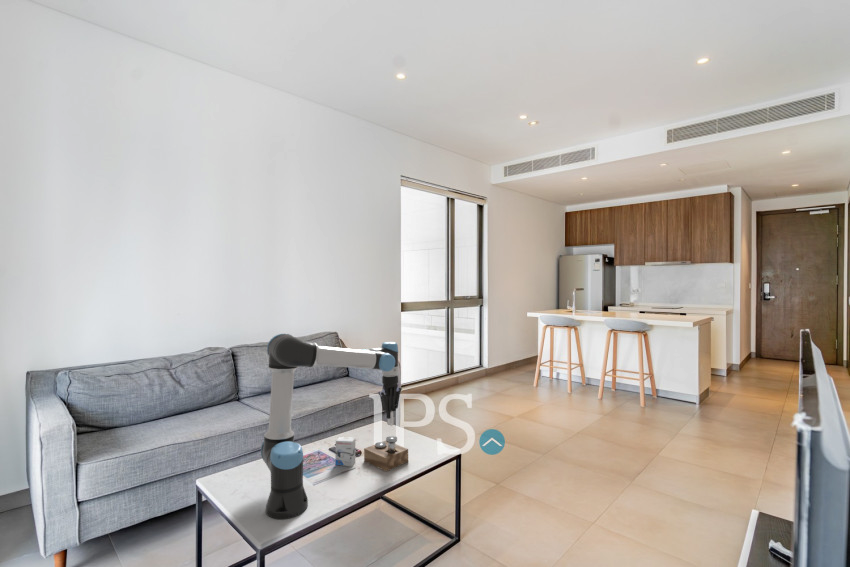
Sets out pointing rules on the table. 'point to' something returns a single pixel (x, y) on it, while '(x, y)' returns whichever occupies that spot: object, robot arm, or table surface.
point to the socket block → (385, 456)
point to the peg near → (391, 444)
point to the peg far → (380, 445)
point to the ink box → (345, 451)
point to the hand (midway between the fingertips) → (390, 424)
